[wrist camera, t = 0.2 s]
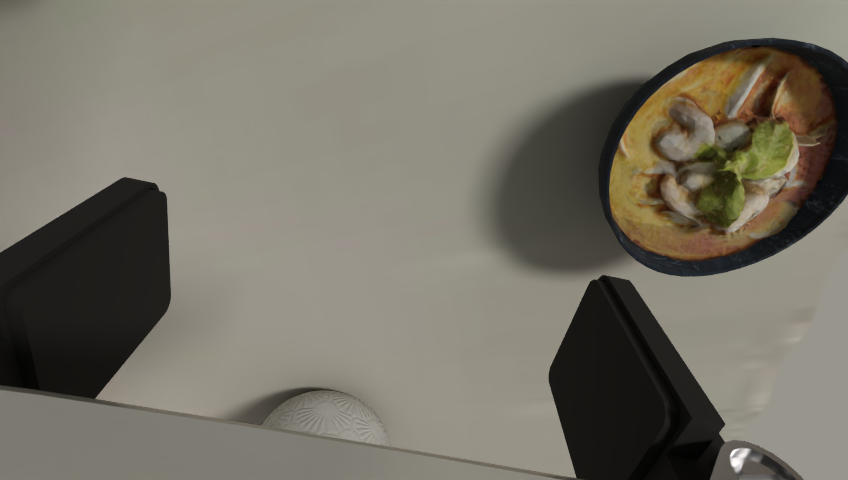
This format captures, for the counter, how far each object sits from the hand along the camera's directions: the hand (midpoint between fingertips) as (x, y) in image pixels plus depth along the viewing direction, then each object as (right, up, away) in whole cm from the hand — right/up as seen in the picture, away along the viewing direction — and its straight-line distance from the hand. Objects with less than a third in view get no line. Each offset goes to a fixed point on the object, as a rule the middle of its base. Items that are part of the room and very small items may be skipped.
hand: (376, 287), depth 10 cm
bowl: (+22, +10, +30) cm, 39 cm away
